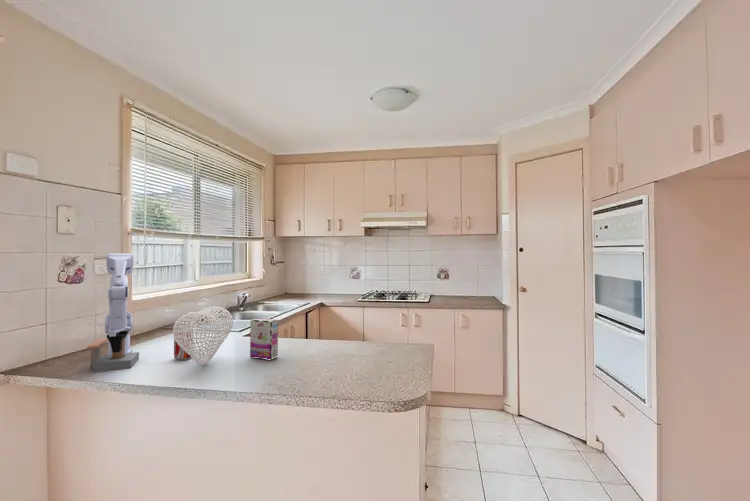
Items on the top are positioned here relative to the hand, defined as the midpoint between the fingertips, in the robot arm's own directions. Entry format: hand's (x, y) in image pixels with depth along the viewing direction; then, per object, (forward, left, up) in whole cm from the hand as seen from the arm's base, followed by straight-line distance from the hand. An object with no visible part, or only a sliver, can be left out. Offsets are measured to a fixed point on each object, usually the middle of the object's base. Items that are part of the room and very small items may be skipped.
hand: (117, 351), depth 146 cm
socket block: (0, -1, -5) cm, 6 cm away
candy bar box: (+7, +55, -6) cm, 56 cm away
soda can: (-2, +23, -6) cm, 24 cm away
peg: (0, 0, -3) cm, 3 cm away
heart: (+10, +32, -6) cm, 34 cm away
